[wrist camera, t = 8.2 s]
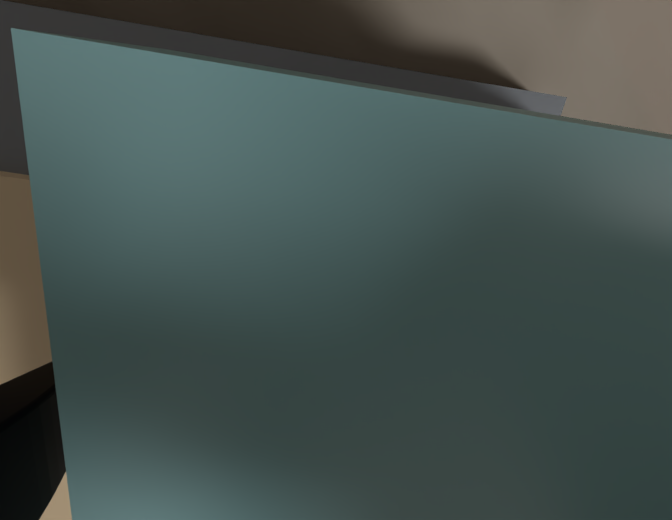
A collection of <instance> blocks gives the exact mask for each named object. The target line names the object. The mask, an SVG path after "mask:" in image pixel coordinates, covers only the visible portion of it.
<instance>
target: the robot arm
mask: <svg viewBox="0 0 672 520" xmlns="http://www.w3.org/2000/svg"><path fill="white" fill-rule="evenodd" d="M65 472H66V467H65V459H64V451H63V443H62V435H61V427H60V419H59V411H58V403H57V395H56V387H55V379H54V371H53V363H52V361H51V362H49V363H47V364H45V365H43V366H40V367H38V368H36V369H34V370H31V371H29V372H27V373H25V374H23V375H20V376H18V377H16V378H14V379H12V380H9V381H7V382H5V383H3V384H0V520H39V519H40V518H41V516H42V514H43V513H44V511H45V509H46V508H47V506H48V504H49V503H50V501H51V499H52V498H53V496H54V494H55V492H56V490H57V488H58V486H59V484H60V482H61V480H62V478H63V476H64V474H65Z"/></svg>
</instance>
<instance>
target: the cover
mask: <svg viewBox="0 0 672 520" xmlns="http://www.w3.org/2000/svg"><path fill="white" fill-rule="evenodd" d="M11 34H12V42H13V50H14V58H15V66H16V74H17V82H18V90H19V98H20V106H21V114H22V122H23V130H24V138H25V146H26V154H27V162H28V170H29V178H30V186H31V194H32V202H33V210H34V218H35V226H36V234H37V242H38V250H39V258H40V266H41V274H42V282H43V290H44V298H45V306H46V315H47V323H48V331H49V339H50V347H51V355H52V363H53V371H54V379H55V387H56V395H57V403H58V411H59V419H60V427H61V435H62V443H63V451H64V459H65V467H66V475H67V483H68V491H69V499H70V507H71V515H72V520H672V135H670V134H664V133H658V132H652V131H646V130H640V129H634V128H628V127H623V126H617V125H611V124H605V123H599V122H593V121H587V120H581V119H575V118H569V117H564V116H558V115H552V114H546V113H540V112H534V111H528V110H522V109H516V108H510V107H505V106H499V105H493V104H487V103H481V102H475V101H469V100H463V99H457V98H451V97H446V96H440V95H434V94H428V93H422V92H416V91H410V90H404V89H398V88H392V87H386V86H381V85H375V84H369V83H363V82H357V81H351V80H345V79H339V78H333V77H327V76H322V75H316V74H310V73H304V72H298V71H292V70H286V69H280V68H274V67H268V66H263V65H257V64H251V63H245V62H239V61H233V60H227V59H221V58H215V57H209V56H204V55H198V54H192V53H186V52H180V51H174V50H168V49H161V48H154V47H146V46H139V45H132V44H125V43H117V42H110V41H103V40H95V39H88V38H81V37H74V36H66V35H59V34H52V33H44V32H37V31H30V30H23V29H15V28H11Z"/></svg>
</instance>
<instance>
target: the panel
mask: <svg viewBox="0 0 672 520" xmlns="http://www.w3.org/2000/svg"><path fill="white" fill-rule="evenodd" d="M11 28H15V29H23V30H30V31H37V32H44V33H52V34H59V35H66V36H74V37H81V38H88V39H95V40H103V41H110V42H117V43H125V44H132V45H139V46H146V47H154V48H161V49H168V50H174V51H180V52H186V53H192V54H198V55H204V56H209V57H215V58H221V59H227V60H233V61H239V62H245V63H251V64H257V65H263V66H268V67H274V68H280V69H286V70H292V71H298V72H304V73H310V74H316V75H322V76H327V77H333V78H339V79H345V80H351V81H357V82H363V83H369V84H375V85H381V86H386V87H392V88H398V89H404V90H410V91H416V92H422V93H428V94H434V95H440V96H446V97H451V98H457V99H463V100H469V101H475V102H481V103H487V104H493V105H499V106H505V107H510V108H516V109H522V110H528V111H534V112H540V113H546V114H552V115H558V116H561V113H562V110H563V107H564V104H565V101H566V98H567V97H562V96H556V95H550V94H544V93H538V92H533V91H527V90H521V89H515V88H509V87H504V86H498V85H492V84H486V83H480V82H475V81H469V80H463V79H457V78H451V77H445V76H440V75H434V74H428V73H422V72H416V71H411V70H405V69H399V68H393V67H387V66H382V65H376V64H370V63H364V62H358V61H352V60H347V59H341V58H335V57H329V56H323V55H318V54H312V53H306V52H300V51H294V50H289V49H283V48H277V47H271V46H265V45H259V44H254V43H248V42H242V41H236V40H230V39H225V38H219V37H213V36H207V35H201V34H196V33H190V32H184V31H178V30H172V29H166V28H161V27H155V26H149V25H143V24H137V23H132V22H126V21H120V20H114V19H108V18H103V17H97V16H91V15H85V14H79V13H73V12H68V11H62V10H56V9H50V8H44V7H39V6H33V5H27V4H21V3H15V2H10V1H4V0H0V384H3V383H5V382H7V381H9V380H12V379H14V378H16V377H18V376H20V375H23V374H25V373H27V372H29V371H31V370H34V369H36V368H38V367H40V366H43V365H45V364H47V363H49V362H51V361H52V355H51V347H50V339H49V331H48V323H47V315H46V306H45V298H44V290H43V282H42V274H41V266H40V258H39V250H38V242H37V234H36V226H35V218H34V210H33V202H32V194H31V186H30V178H29V170H28V162H27V154H26V146H25V138H24V130H23V122H22V114H21V106H20V98H19V90H18V82H17V74H16V66H15V58H14V50H13V42H12V34H11ZM39 520H72V515H71V507H70V499H69V491H68V483H67V475H66V472H65V474H64V476H63V478H62V480H61V482H60V484H59V486H58V488H57V490H56V492H55V494H54V496H53V498H52V499H51V501H50V503H49V504H48V506H47V508H46V509H45V511H44V513H43V514H42V516H41V518H40V519H39Z"/></svg>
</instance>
